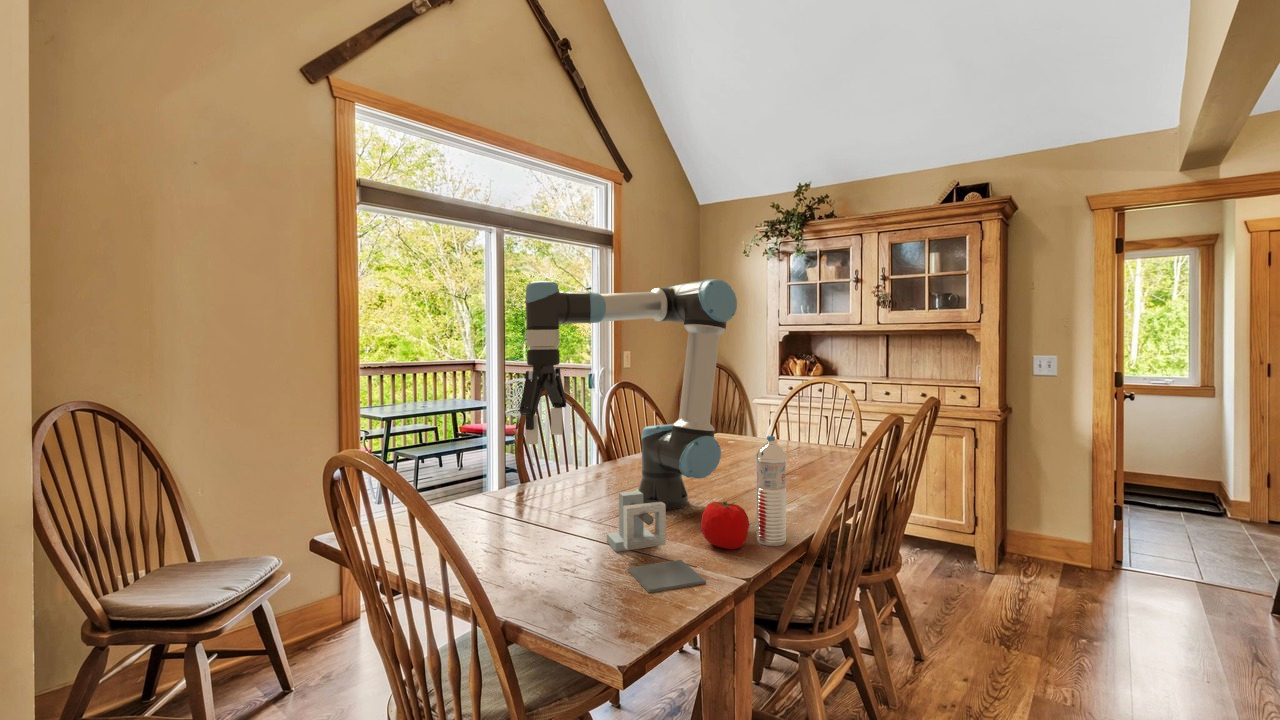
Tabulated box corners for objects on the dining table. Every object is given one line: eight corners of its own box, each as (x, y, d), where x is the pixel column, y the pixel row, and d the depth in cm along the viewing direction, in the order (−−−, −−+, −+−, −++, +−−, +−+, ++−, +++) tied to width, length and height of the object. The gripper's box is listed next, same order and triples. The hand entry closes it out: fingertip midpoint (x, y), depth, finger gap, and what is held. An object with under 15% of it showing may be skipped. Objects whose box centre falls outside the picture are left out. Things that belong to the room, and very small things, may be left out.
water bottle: (767, 535, 146) (766, 433, 145) (791, 542, 141) (791, 436, 140) (750, 542, 141) (750, 436, 141) (775, 549, 136) (775, 440, 136)
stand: (606, 541, 143) (606, 491, 142) (646, 536, 146) (645, 487, 146) (627, 564, 128) (627, 508, 128) (671, 558, 131) (670, 504, 131)
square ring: (661, 541, 135) (661, 501, 135) (665, 544, 133) (665, 504, 133) (623, 546, 132) (623, 505, 132) (627, 550, 130) (626, 508, 129)
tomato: (724, 558, 131) (724, 512, 131) (689, 542, 142) (689, 499, 141) (762, 548, 137) (762, 504, 137) (726, 533, 148) (726, 492, 147)
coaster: (680, 562, 129) (680, 559, 129) (705, 583, 118) (705, 580, 118) (628, 570, 125) (628, 567, 125) (648, 592, 114) (648, 589, 114)
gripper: (550, 347, 153) (552, 430, 154) (502, 349, 129) (504, 447, 130) (578, 347, 151) (579, 431, 152) (533, 349, 127) (535, 449, 128)
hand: (545, 439), depth 141 cm, fingers open, 13 cm apart
